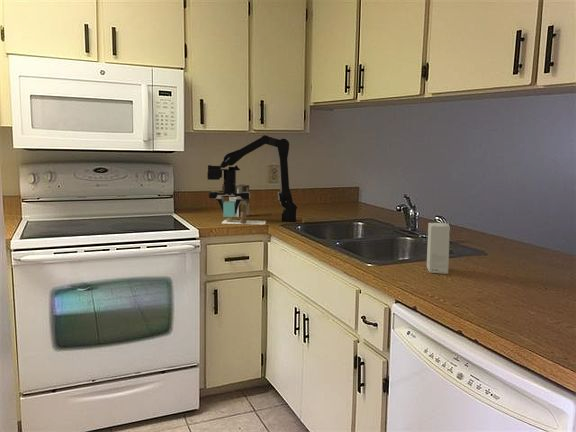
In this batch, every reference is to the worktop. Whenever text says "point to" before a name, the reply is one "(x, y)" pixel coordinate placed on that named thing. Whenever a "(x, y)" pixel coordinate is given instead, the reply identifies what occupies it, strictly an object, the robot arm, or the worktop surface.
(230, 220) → the oak post
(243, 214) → the walnut dowel
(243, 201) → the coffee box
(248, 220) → the board
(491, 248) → the worktop surface
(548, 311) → the worktop surface
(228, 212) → the light blue block
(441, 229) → the skincare box
